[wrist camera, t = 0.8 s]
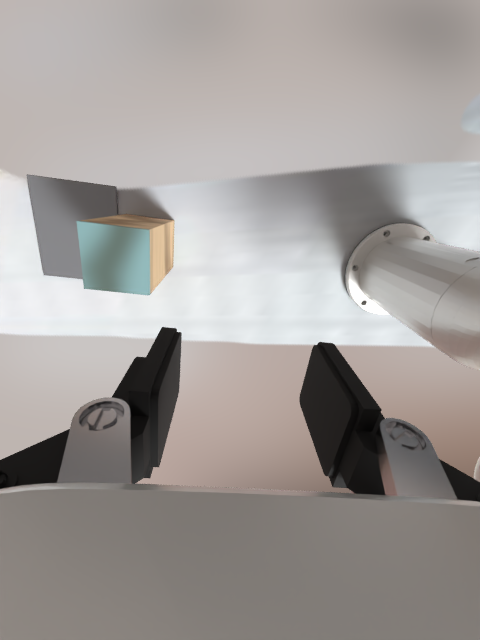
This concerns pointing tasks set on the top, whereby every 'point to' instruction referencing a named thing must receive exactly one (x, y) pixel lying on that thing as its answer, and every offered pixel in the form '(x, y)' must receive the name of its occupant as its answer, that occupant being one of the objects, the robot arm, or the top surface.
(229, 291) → the top surface
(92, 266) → the oak block
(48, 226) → the mat
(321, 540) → the robot arm
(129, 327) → the top surface
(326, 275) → the top surface
